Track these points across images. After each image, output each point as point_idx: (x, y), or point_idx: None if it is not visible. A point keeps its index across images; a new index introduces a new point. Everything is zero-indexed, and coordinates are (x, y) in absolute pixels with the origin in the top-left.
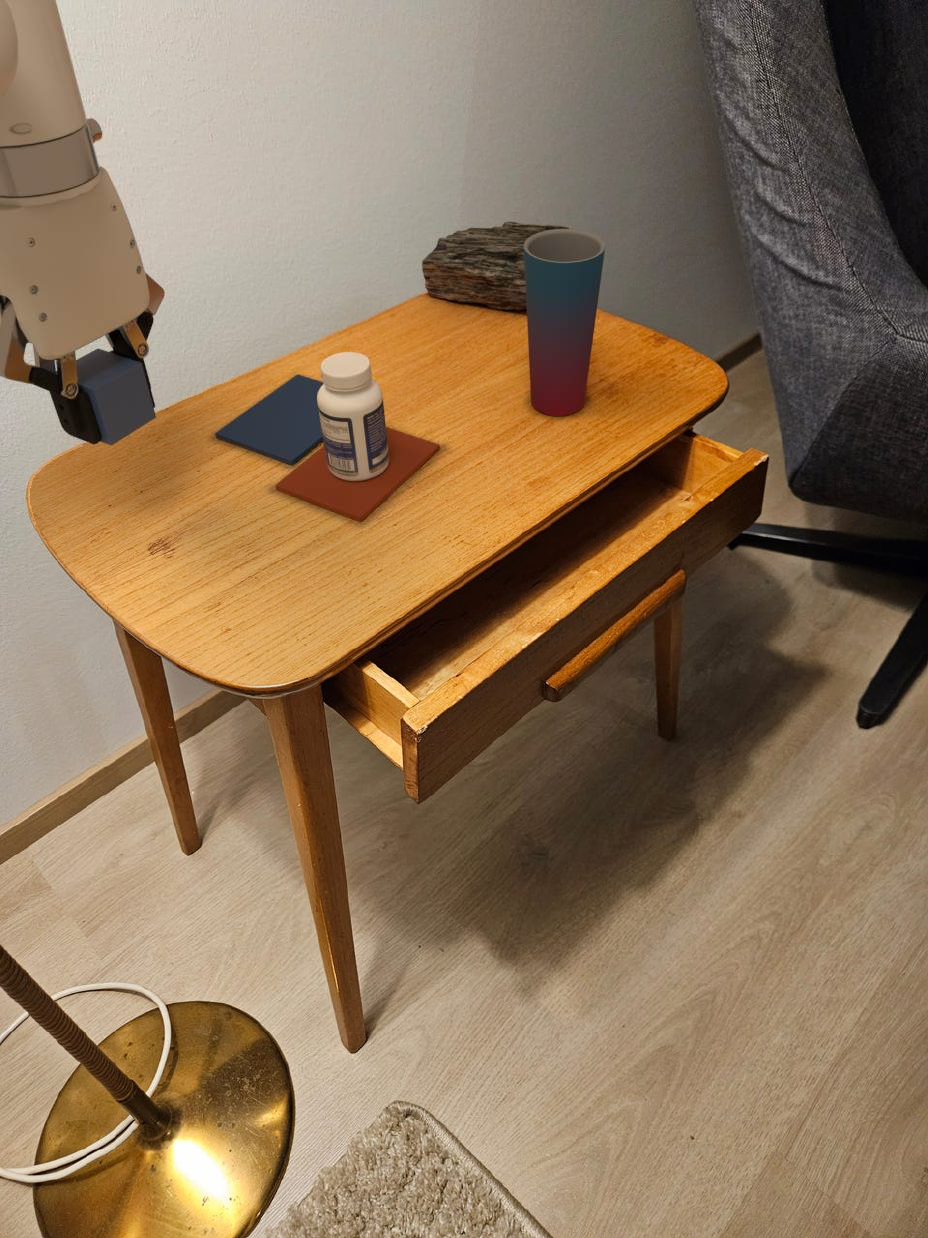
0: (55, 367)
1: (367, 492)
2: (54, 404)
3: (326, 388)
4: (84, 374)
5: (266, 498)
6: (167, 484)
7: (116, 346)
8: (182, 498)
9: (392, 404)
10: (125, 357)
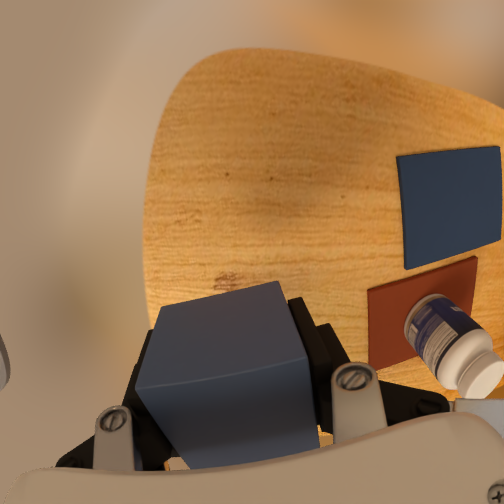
0: (140, 450)
1: (399, 352)
2: (125, 397)
3: (464, 363)
4: (203, 434)
5: (351, 294)
6: (301, 190)
7: (329, 407)
8: (296, 228)
9: (499, 254)
10: (320, 414)
